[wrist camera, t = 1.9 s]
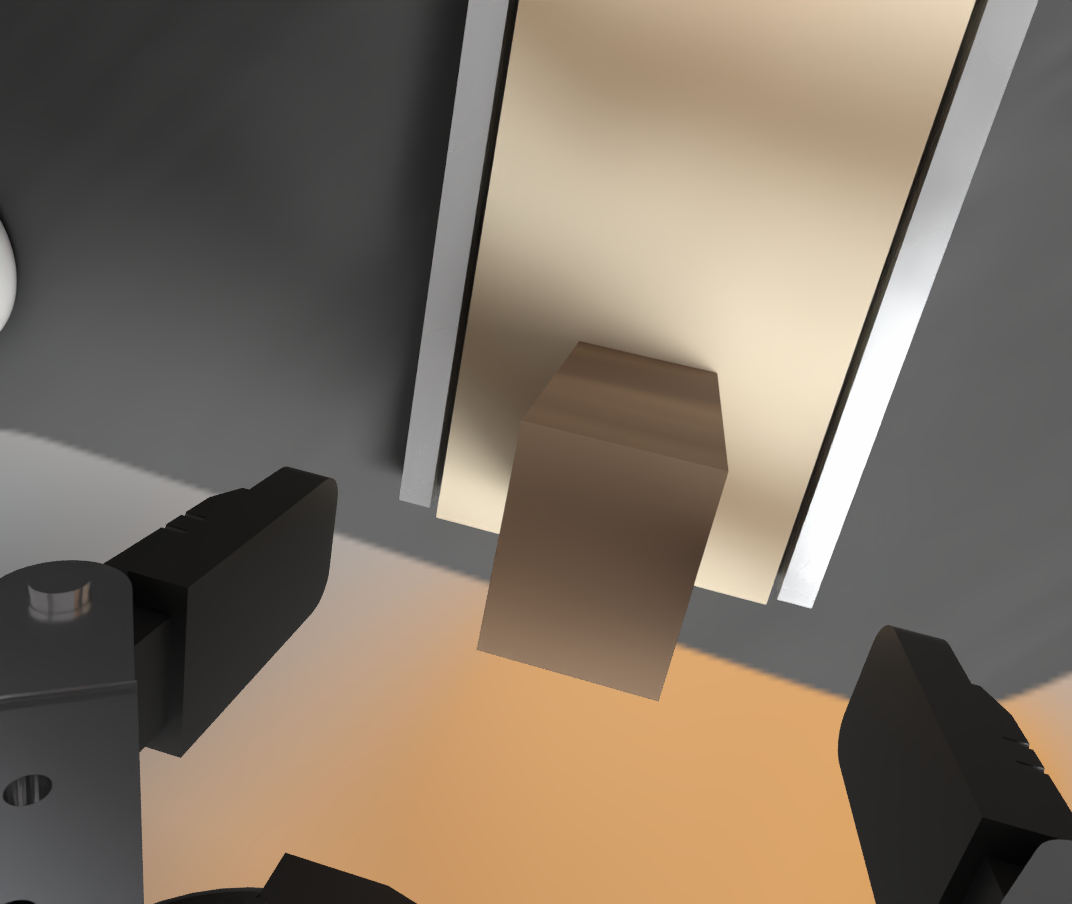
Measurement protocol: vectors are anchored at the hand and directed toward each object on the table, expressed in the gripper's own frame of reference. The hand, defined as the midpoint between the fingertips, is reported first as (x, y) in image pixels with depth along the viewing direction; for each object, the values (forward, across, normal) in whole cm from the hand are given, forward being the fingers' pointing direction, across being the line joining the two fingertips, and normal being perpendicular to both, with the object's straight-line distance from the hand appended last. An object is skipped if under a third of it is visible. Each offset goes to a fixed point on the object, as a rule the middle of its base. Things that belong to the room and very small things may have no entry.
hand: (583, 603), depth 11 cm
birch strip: (+8, 0, -8) cm, 12 cm away
